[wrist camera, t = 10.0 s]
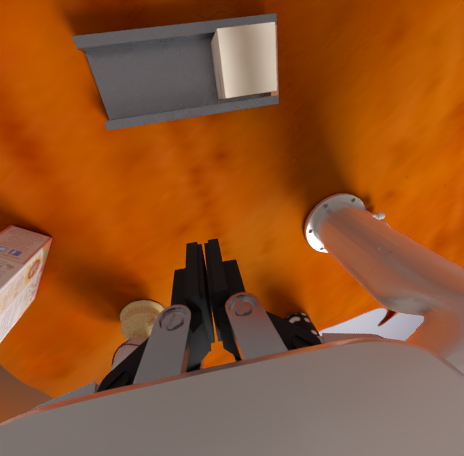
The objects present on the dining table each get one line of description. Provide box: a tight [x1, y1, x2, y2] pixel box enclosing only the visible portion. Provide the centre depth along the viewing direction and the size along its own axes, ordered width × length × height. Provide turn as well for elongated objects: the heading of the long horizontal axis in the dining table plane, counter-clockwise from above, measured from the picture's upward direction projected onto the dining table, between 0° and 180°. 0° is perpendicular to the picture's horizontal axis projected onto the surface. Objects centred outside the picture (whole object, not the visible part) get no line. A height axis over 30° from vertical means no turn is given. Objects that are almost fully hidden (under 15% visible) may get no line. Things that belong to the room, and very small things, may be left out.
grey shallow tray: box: [72, 13, 279, 130], centre depth 28 cm, size 22×9×3 cm, turn 98°
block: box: [211, 22, 277, 100], centre depth 27 cm, size 6×6×6 cm
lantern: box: [111, 300, 165, 371], centre depth 34 cm, size 12×10×30 cm
